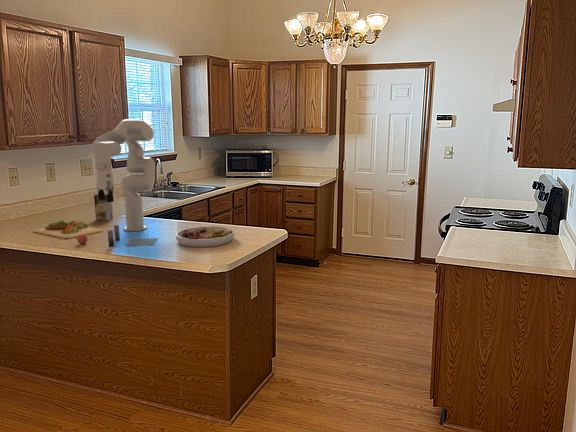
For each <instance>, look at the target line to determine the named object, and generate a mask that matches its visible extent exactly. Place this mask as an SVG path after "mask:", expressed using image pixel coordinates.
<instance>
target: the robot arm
mask: <svg viewBox="0 0 576 432" xmlns="http://www.w3.org/2000/svg"><path fill="white" fill-rule="evenodd" d="M152 139H154V130H153V128H152V126H151V125H149V124H148V123H147V122H145V121H144V120H142V119H123V120H121V121H119V123H118V124H117V125H116V126H115V128H114V129H113V130H110V131H107V132H105V133H104V134H101V135H98V136H97V137H96V138H95V140H94V141H93V142H92V144H91V152H92V154H93V155H94V165H95V166H94V167H95V168H94V169H95V171H96V183H95V184H96V189H97V194H98V199H99V200H105V194H106V196H107V202H112V203H113V202H114V189H115V184H114V177H113V176H114V175H113V172H112V158H111V157H116V156H119V155H120V154H121V153H122V146H121V145H123V144H124V143H126V145H127V147H128V148H127V149H128V154H127V161H126V171H127V172H128V173H129V174H127V175H125V176H123V177H122V178H121V189H122V191H123V196H124V206H125V208H124V210H125V222H126V226H125V227H124V228H123V230H124V231H126V232H137V231H144V230H146V229H147V228H148V227H147V225H144V224H145V223H144V210H143V197H142V196H141V194H139V193H141V192H144V193H145V192H151V191H152V190H153V188H154V182H155V174H156V173H155V172H156V163H155V160H154V159H153V158H152V157H145V156H144V153H145V151H144V148H143V146H142V145H141V143H139V142H150V141H152ZM105 192H106V193H105Z"/></svg>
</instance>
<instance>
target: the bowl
mask: <svg viewBox="0 0 576 432" xmlns="http://www.w3.org/2000/svg"><path fill="white" fill-rule="evenodd" d="M234 237H235V230H234V229H232V228H230V227H225V226H224V227H223V226H215V225H214V226H213V225H212V226H209V225H208V226H196V227H188V228H185V229H181V230H179V231H177V232H176V233H175V238H176V241H177V242H178V243H179V244H180V245H182V246H185V247H191V248H211V247H212V248H213V247H218V246H223V245H226V244H228V243H230V242H231V241H232V240H233V239H234Z"/></svg>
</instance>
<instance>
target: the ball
mask: <svg viewBox="0 0 576 432" xmlns="http://www.w3.org/2000/svg"><path fill="white" fill-rule="evenodd" d="M87 236H88V235H84V234H81V235H79V236H78V237H77V238H76V241H77V242H78V244H80V245H84V244H86V243H87V242H88V237H87Z"/></svg>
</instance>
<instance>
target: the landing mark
mask: <svg viewBox="0 0 576 432" xmlns="http://www.w3.org/2000/svg"><path fill="white" fill-rule="evenodd" d="M158 239H159V238H158V237H153V238H151V237H150V238H149V237H148V238H130V240H129V241H128V242H127V243H126V244H125V247H128V246H129V247H132V246H133V247H134V246H135V247H136V246H154V245H155V243H156V242H157V241H158Z"/></svg>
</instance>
